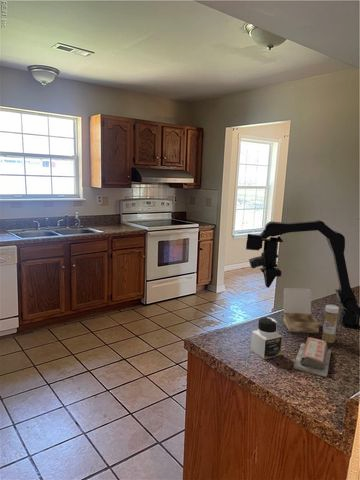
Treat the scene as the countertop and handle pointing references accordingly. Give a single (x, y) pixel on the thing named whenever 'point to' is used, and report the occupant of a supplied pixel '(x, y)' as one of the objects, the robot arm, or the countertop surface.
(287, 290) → the lid
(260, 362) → the countertop surface
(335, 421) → the countertop surface
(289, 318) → the box
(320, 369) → the packaged product
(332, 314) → the sprinkles bottle
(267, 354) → the medicine bottle
